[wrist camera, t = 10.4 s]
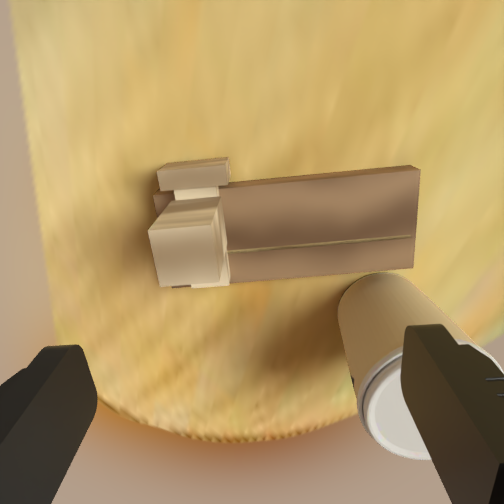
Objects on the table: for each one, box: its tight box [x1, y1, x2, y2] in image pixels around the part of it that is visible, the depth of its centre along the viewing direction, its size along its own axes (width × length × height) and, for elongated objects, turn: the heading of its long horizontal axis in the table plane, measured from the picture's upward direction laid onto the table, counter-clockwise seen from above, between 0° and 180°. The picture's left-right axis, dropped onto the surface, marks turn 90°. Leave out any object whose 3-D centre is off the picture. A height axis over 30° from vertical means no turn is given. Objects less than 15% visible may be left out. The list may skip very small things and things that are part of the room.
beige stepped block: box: [148, 157, 231, 288], centre depth 26 cm, size 9×5×10 cm, turn 6°
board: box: [153, 165, 421, 288], centre depth 30 cm, size 8×20×2 cm, turn 96°
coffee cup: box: [338, 273, 504, 460], centre depth 29 cm, size 9×9×12 cm
